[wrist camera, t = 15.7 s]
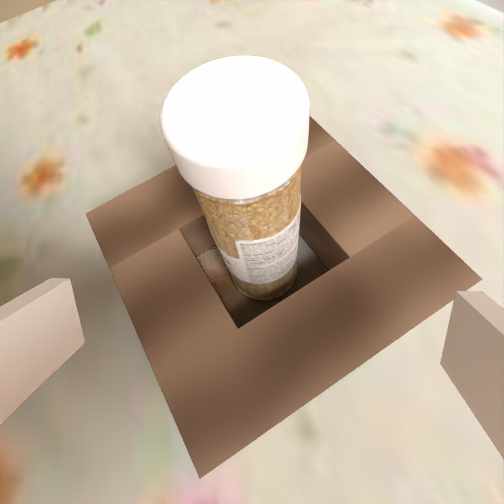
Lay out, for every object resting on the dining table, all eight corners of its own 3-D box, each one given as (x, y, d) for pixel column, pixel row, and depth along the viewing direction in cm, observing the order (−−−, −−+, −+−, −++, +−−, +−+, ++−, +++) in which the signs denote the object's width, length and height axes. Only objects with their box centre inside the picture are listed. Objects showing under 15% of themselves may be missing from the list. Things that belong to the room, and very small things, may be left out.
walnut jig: (116, 242, 23) (85, 213, 20) (293, 143, 26) (295, 102, 22) (218, 462, 17) (199, 478, 13) (445, 302, 19) (482, 279, 15)
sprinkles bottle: (225, 250, 22) (147, 70, 10) (287, 233, 22) (284, 33, 10) (239, 311, 20) (164, 177, 8) (307, 293, 20) (335, 131, 8)
